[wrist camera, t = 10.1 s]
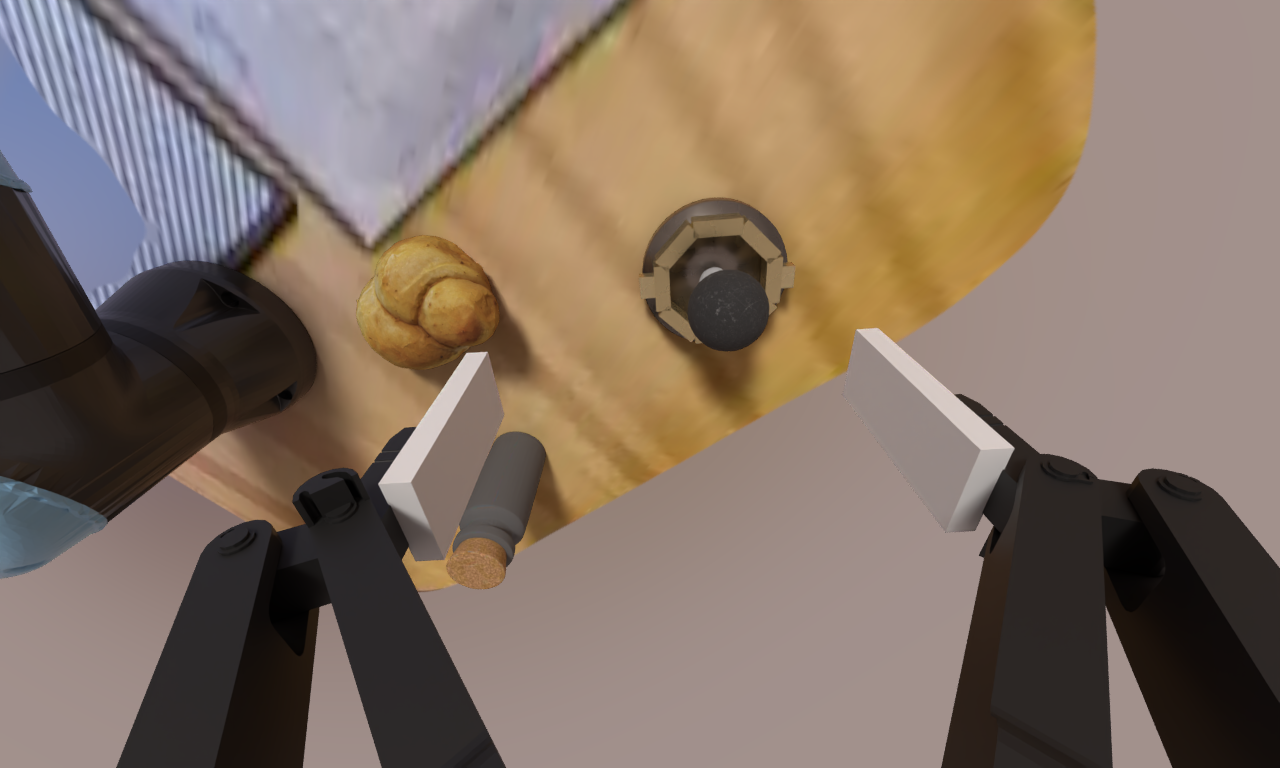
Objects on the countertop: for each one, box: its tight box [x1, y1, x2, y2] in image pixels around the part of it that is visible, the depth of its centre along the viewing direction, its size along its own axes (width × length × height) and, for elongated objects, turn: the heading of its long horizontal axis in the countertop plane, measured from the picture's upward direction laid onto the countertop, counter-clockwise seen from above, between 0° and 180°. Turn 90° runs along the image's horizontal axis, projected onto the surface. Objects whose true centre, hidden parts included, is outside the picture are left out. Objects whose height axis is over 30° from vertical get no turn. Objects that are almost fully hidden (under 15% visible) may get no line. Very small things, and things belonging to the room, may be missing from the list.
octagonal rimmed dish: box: [639, 198, 795, 344], centre depth 37 cm, size 12×12×4 cm
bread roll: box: [356, 235, 500, 370], centre depth 37 cm, size 13×10×8 cm
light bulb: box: [687, 267, 769, 351], centre depth 33 cm, size 6×6×10 cm
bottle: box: [447, 432, 546, 589], centre depth 43 cm, size 6×6×15 cm
